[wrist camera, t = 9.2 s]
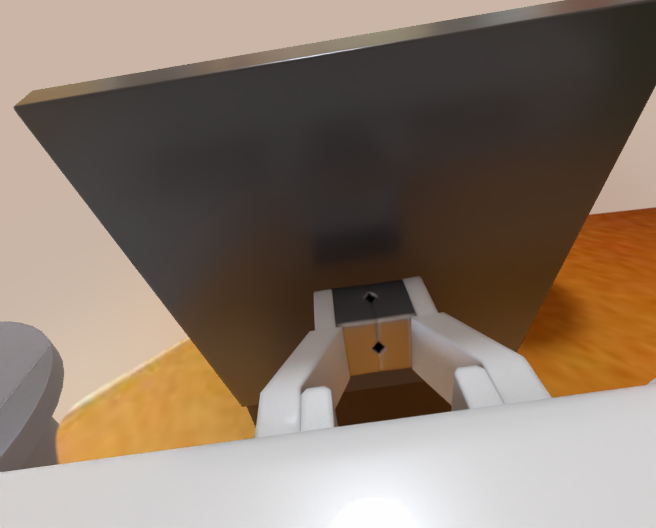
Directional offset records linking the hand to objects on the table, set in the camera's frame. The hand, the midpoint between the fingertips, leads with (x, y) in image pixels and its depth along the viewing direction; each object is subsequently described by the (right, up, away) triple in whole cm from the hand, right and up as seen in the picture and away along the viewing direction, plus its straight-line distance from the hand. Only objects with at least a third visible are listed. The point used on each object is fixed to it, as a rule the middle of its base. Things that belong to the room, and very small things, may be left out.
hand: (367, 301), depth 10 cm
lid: (0, +1, +2) cm, 2 cm away
